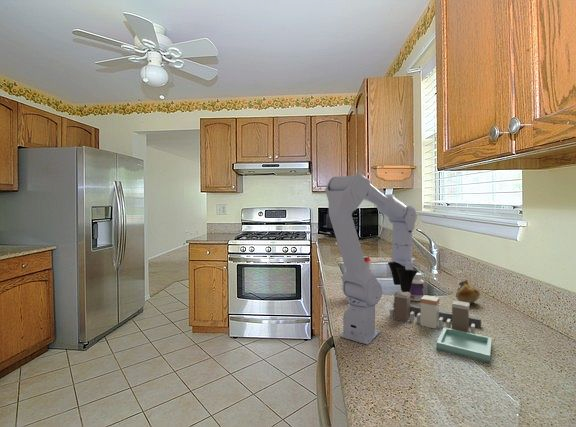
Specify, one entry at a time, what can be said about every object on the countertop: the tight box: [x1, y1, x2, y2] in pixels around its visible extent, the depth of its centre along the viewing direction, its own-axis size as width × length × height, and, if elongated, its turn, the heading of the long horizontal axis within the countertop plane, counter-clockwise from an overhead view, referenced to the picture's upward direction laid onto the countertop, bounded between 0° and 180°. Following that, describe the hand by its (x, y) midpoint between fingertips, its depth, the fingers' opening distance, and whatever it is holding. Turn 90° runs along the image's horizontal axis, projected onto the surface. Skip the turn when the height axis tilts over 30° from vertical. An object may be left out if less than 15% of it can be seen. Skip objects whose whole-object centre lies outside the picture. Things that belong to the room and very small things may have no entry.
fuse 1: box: [393, 290, 411, 323], centre depth 94 cm, size 4×4×8 cm
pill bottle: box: [409, 272, 425, 302], centre depth 112 cm, size 5×5×10 cm
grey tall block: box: [420, 294, 440, 329], centre depth 89 cm, size 4×4×8 cm
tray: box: [435, 326, 493, 364], centre depth 76 cm, size 11×11×2 cm
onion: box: [455, 279, 481, 305], centre depth 108 cm, size 8×8×8 cm
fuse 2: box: [451, 300, 471, 333], centre depth 85 cm, size 4×4×8 cm
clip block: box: [389, 302, 482, 334], centre depth 92 cm, size 9×25×2 cm, turn 54°
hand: (401, 288), depth 93 cm, fingers open, 7 cm apart
